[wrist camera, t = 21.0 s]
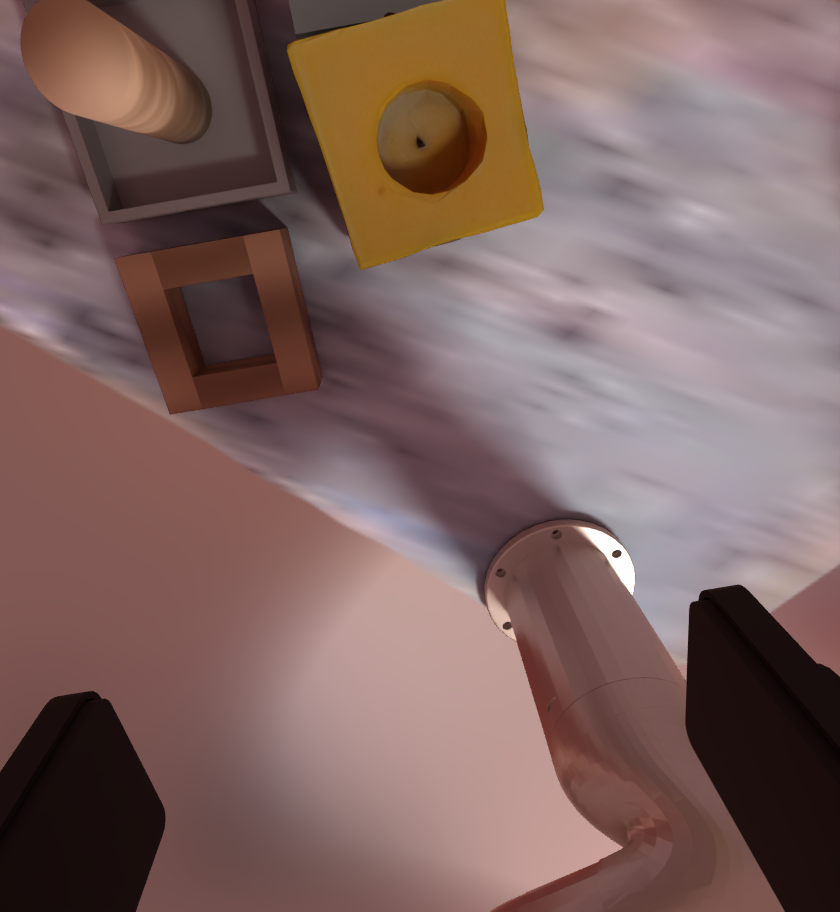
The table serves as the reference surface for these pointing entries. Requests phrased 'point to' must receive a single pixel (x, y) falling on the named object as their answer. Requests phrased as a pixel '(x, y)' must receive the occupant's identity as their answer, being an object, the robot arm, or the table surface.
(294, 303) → the socket block
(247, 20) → the tray
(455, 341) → the table surface
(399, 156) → the candle
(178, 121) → the dowel
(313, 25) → the block
